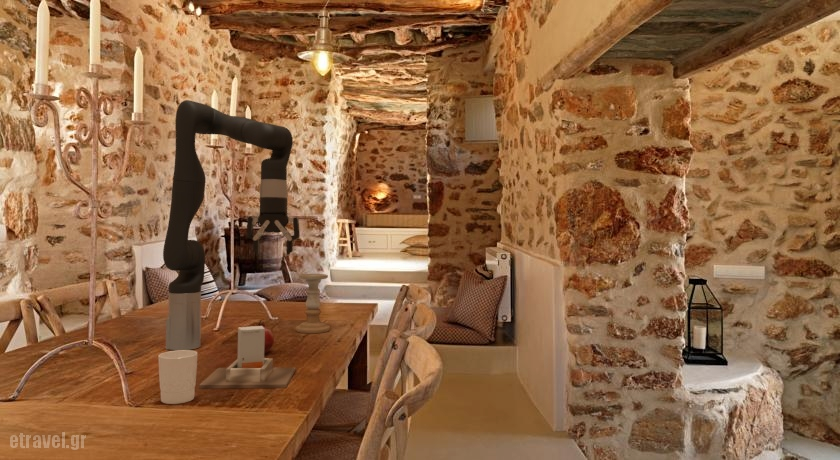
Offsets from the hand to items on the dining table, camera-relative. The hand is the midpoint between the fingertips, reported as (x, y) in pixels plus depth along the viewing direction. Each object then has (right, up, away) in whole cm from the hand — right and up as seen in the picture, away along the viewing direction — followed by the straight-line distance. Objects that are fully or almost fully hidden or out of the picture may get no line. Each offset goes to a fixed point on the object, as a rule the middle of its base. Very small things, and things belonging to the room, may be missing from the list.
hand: (273, 254), depth 158 cm
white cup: (-12, -31, -35) cm, 48 cm away
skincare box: (-1, -30, -18) cm, 35 cm away
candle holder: (+2, -30, +47) cm, 55 cm away
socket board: (-1, -30, -18) cm, 35 cm away
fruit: (-7, -30, +10) cm, 33 cm away
